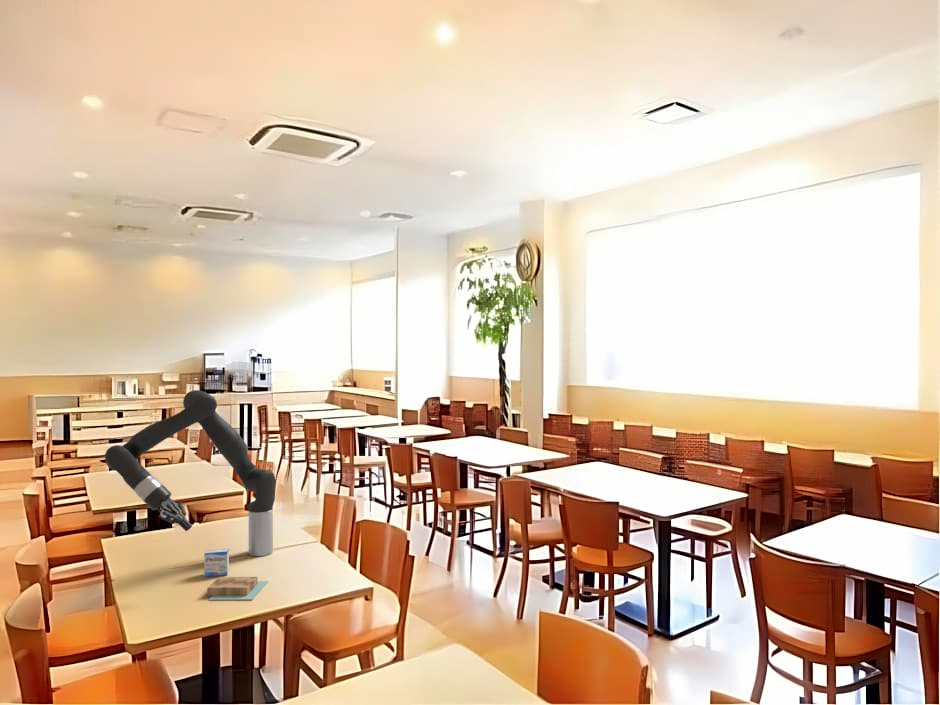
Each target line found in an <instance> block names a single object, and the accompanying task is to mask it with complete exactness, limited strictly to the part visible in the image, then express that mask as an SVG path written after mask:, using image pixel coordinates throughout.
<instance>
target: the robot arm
mask: <svg viewBox="0 0 940 705" xmlns="http://www.w3.org/2000/svg"><path fill="white" fill-rule="evenodd" d="M182 403H183V408H184V409H182V410H181V411H179V412H178V413H175V414H174V415H171V416H170V417H167V418H164V419H160V420H158V421H155V422H154V423H152V424H149V425H148V426H146V427H145V428H143V429H141V430H140V431H138V432H137V433H135V434H134V435H132V436H131V437H130V439H129V440H128V441H127V442H126V443H124V444H123V445H119V444H117V445H113V446H110V447H108V448H107V450H106V451H105V453H104V459H105V463H106V466H107V467H108V468H109V469H110V470H113V471H115V472H117V473H118V474H119V475H120V476H121V477H122V480H123V481H124V482H125V483H126V484H127V486H128V487H130V489H132V490H133V491H134V493H135V494H136V495H137V496H138V497H139V498H140V499H141V500H142V502H144V503H145V504H146V505H147V507H149V508H150V509H151V510H152V511H155V510H157V511H158V512H159V513H160V514H159V515H158V518H159V519H161V520H163V521H165V522H168V523H169V524H172V525H175V524H176V525H179V526H180V527H181V528H182V529H183V530H184V531H186V532H187V531H189V530H191V528H192V527H193V524H192V523H191V522H190V521H188V520H187V518H186V515H187V512H186V510H185V507H184V504H183V502H180V501H179V502H178V503H177V502H175V500H173V499H172V498H171V496H172V493H171V492H172V491H171V492H170V490H168V489H167V487H166V486H165V485H164V484H163V483H161V482H160V480H159V479H157V478H156V477H155V476H153V475H152V474H151V473H150V472H149V471H148V470H147V469H146V468H145V467H144V466H143V465H141V463H140V462H139V461H138V459H139V458H140V457H141V456H142V455H143V454H145V453H146V452H148V451H150V450H151V449H153V448H154V447H156V446H157V445H159V444H161V442H164V441H165V440H167V439H168V438H170V437H171V436H173V435H175V434H177V433H179V432H180V431H182V430H184V429H187V428H189V427H190V426H192V425H195V424H196V423H197V424H199V425H200V426H201V427H202V429H203V430H204V432H205V434H206V435H207V436H208V438H209V439H210V441H211V442H212V444H213V445H214V446H215V448H216V449H217V450H218V452H219V453H220V454H221V456H223V458H224V459H225V460H226V461H227V462H228V464H229V465H230V467H231V468H232V469H233V470H234V471H235V472H236V474H237V476H238V477H239V479H240V480H241V482H242V484H243V486H244V487H245V489H247V490H248V491H249V492H252V493H255V498H254V501H251V502H249V504H248V555H249V556H251V557H263V556H265V557H266V556H269V555H271V554H273V552H274V516H273V515H274V509H273V508H274V503H275V500H276V486H277V485H276V476H275V474H274V472H273V471H271V470H268V469H262V468H258V467H257V466H256V465H255V464H254V463H253V462H252V460H251V459H250V457H249V456H248V448H247V444H246V442H245V440H244V439H243V438H242V436H241V435H240V434H239V433H238V431H237V429H235V428H234V427H233V426H232V425H231V424H230V423H228V421H226V420H225V419H224V418H223V417H221V415H219V413H218V412H217V411H216V410H217V407H218V402H217V400H216V398H215V397H214V396H213V395H211V394H209V393H207V392H205V391H203V390H198V389H197V390H196V389H195V390H194V389H193V390H190V391H188V392H187V393H186V394H185V396H184V398H183V401H182ZM268 554H269V555H268Z"/></svg>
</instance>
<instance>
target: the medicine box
mask: <svg viewBox="0 0 940 705" xmlns="http://www.w3.org/2000/svg"><path fill="white" fill-rule="evenodd" d="M229 552H230V549H229V548H219V549H218V548H216V549H206V550H205V552H204V557H203V558H204V560H203V561H204V566H203V567H204V568H203V573H204V574H203V576H204V578H213V577H212V576H215V577H223V576H222V575H225V576H228V574H229V571H230V567H229V565H230V561H229V560H230V558H229V557H230V553H229Z"/></svg>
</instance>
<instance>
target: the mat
mask: <svg viewBox="0 0 940 705" xmlns="http://www.w3.org/2000/svg"><path fill="white" fill-rule="evenodd" d="M268 583H269V581H268V580H257V585H256V586H255V587H254V589H253V590H252V591H251V592H250V593H249V594H248V595H247V596H210V597H209V599H208V601H210V600H212V601H213V602H214V601H217V600H221V602H222V601H223V602H224V601H225V602H226V600H227V601H253V600H254V599H255V598H256V596H257V595H258V594H259V593H261V591H262V590H263V589H264V588H265V586H266V585H267V584H268ZM262 588H263V589H262ZM210 602H211V601H210Z"/></svg>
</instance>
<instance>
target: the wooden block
mask: <svg viewBox="0 0 940 705" xmlns="http://www.w3.org/2000/svg"><path fill="white" fill-rule="evenodd" d="M257 581H258V576H218V577H217V578H216V579H215V580H214V581H213V582H212V583H211V584H209V586H207V588H206V589H207V590H206V593H207V594H206V596H207V597H212V596H247V595H248V594H249V593H250V592H251V591H252V590H253V589H254V587H255V586H256V585H257Z"/></svg>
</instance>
